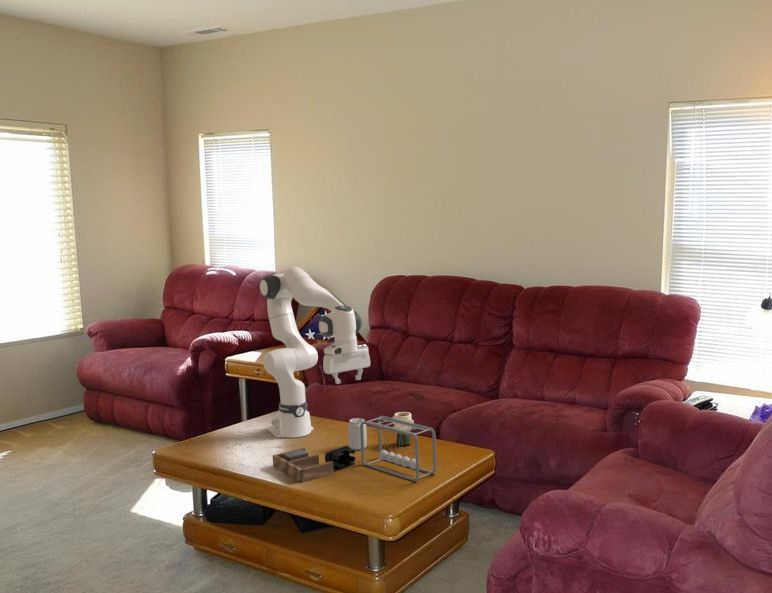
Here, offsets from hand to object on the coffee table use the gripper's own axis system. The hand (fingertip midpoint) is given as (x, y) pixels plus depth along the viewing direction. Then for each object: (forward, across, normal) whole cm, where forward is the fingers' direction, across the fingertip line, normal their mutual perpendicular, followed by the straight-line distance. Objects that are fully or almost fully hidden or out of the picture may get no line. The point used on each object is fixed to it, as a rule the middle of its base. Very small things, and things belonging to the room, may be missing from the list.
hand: (348, 381), depth 297 cm
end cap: (+31, +9, +5) cm, 33 cm away
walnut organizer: (+31, +22, 0) cm, 38 cm away
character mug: (+31, -25, +1) cm, 40 cm away
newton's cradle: (+32, -5, +24) cm, 40 cm away
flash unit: (+31, +23, -6) cm, 39 cm away
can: (+30, -8, -8) cm, 33 cm away
